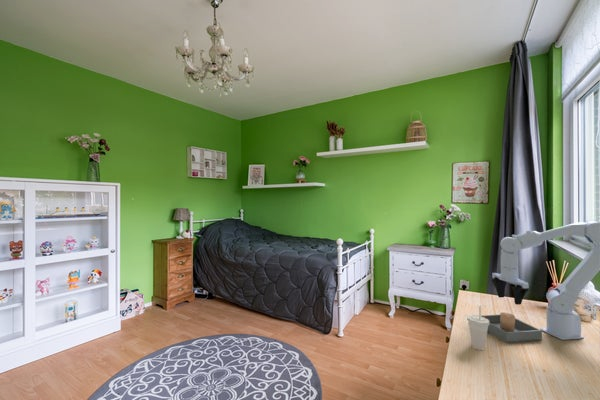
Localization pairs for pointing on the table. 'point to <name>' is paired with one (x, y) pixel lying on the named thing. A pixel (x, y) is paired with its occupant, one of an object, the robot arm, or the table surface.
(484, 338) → the smoothie
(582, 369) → the table surface
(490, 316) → the tub
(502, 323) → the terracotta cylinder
